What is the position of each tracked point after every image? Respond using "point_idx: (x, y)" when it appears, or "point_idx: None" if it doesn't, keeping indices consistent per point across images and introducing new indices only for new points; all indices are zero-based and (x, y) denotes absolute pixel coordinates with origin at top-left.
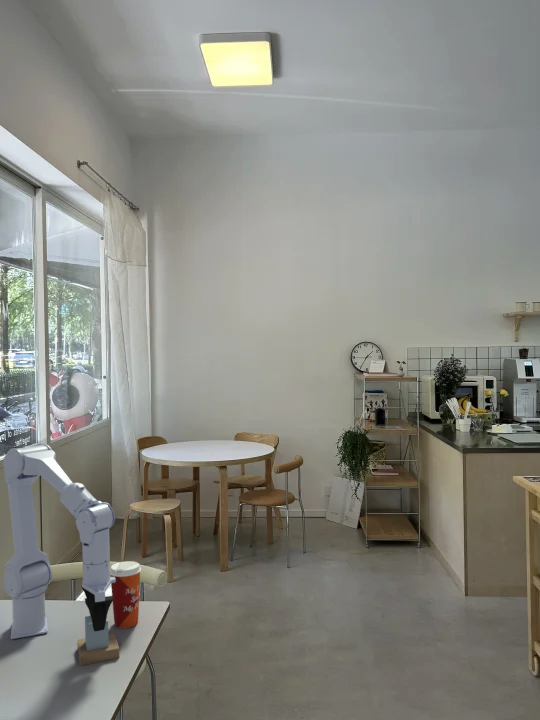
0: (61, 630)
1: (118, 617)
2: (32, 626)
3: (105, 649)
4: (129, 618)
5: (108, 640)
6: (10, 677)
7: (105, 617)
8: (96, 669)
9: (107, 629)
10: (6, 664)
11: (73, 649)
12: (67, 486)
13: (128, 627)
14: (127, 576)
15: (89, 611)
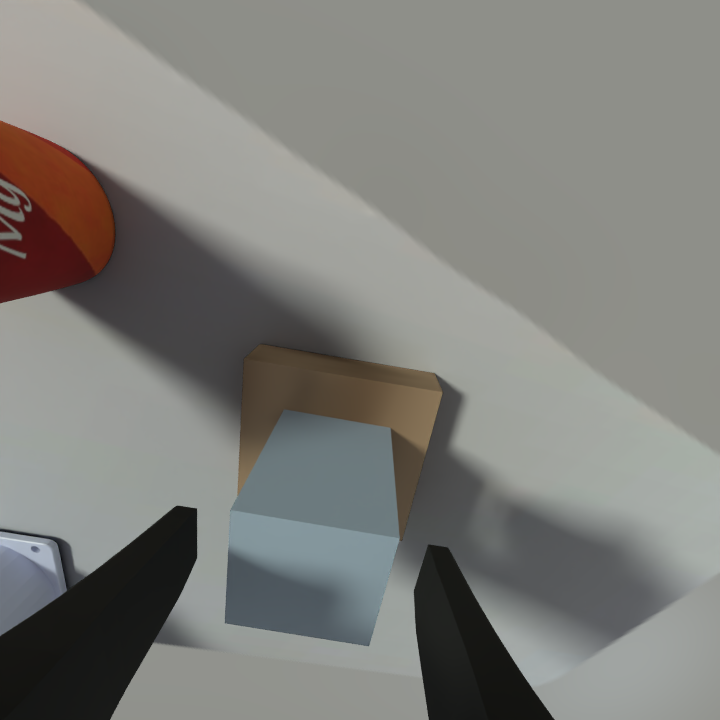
0: (42, 493)
1: (49, 283)
2: (26, 610)
3: (411, 447)
4: (73, 215)
5: (391, 445)
6: (343, 660)
7: (502, 649)
8: (469, 472)
9: (393, 493)
10: (251, 655)
11: None
12: None
13: (114, 224)
14: None
15: (172, 608)
